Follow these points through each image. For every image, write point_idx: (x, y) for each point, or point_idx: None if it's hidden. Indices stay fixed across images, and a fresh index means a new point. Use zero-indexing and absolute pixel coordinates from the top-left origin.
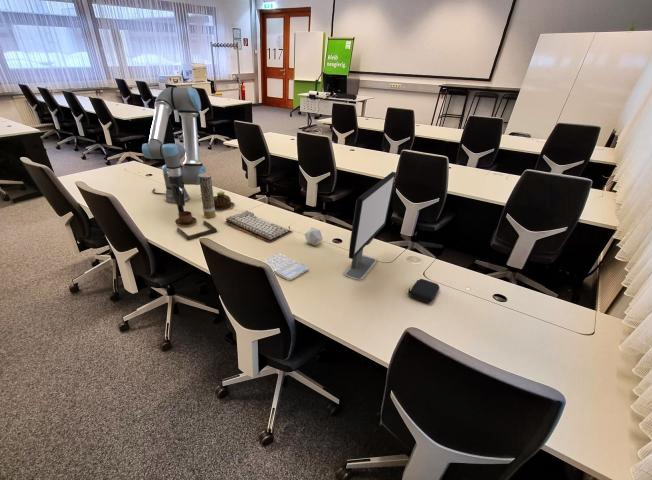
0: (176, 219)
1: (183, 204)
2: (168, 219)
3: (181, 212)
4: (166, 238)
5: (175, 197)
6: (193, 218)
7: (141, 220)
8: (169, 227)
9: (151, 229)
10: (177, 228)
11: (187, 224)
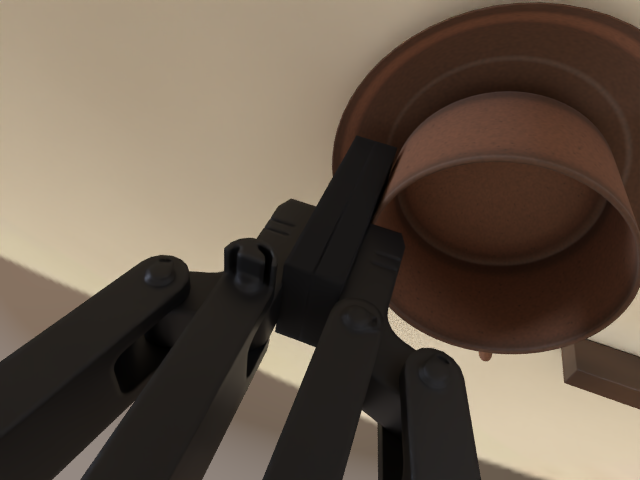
0: None
1: (448, 410)
2: (222, 194)
3: None
4: (571, 448)
5: (94, 424)
6: (524, 17)
7: None
8: None
9: None
10: (582, 386)
11: (557, 198)
